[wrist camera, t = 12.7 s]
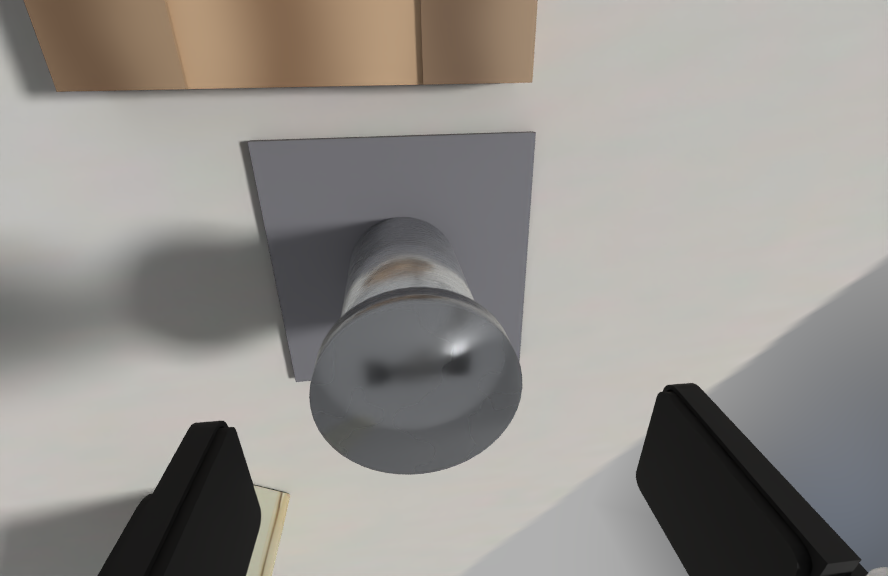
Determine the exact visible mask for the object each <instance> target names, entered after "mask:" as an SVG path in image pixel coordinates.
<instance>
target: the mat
mask: <svg viewBox="0 0 888 576" xmlns="http://www.w3.org/2000/svg"><path fill="white" fill-rule="evenodd" d="M535 135H536V133H535V132H503V133H472V134H440V135H409V136H377V137H346V138H315V139H283V140H252V141H248V147H249V152H250V157H251V162H252V167H253V172H254V176H255V181H256V186H257V191H258V196H259V201H260V206H261V211H262V216H263V221H264V226H265V231H266V236H267V241H268V246H269V251H270V256H271V261H272V266H273V271H274V276H275V281H276V286H277V291H278V296H279V301H280V306H281V311H282V316H283V321H284V325H285V330H286V335H287V340H288V345H289V350H290V355H291V360H292V365H293V370H294V375H295V380H296V382H301V381H311V380H312V375H313V371H314V367H315V362H316V358H317V354H318V351H319V348H320V346H321V344H322V341H323V340H324V338H325V336H326V335H327V333H328V331H329V330H330V329H331V328H332V326H333V325H334V324H335V323H336V322H337V320H339V319H340V318H341V314H342V308H343V302H344V296H345V290H346V284H347V278H348V272H349V266H350V260H351V256H352V252H353V249H354V247H355V245H356V243H357V241H358V240H359V238H360V237H361V236H362V235H363V234H364V233H365V232H366V231H367V230H368V229H369V228H371V227H372V226H373V225H375V224H377V223H379V222H381V221H384V220H386V219H390V218H395V217H412V218H417V219H421V220H424V221H426V222H428V223H430V224H432V225H433V226H435V227H436V228H438V229H439V230H440V231H441V232H442V233H443V234H444V235H445V236H446V238H447V239H448V241H449V242H450V244H451V246H452V249H453V251H454V253H455V256H456V258H457V260H458V263H459V265H460V268H461V270H462V272H463V275H464V277H465V280H466V282H467V284H468V287H469V289H470V291H471V294H472V296H473V299H474V301H476V302H477V303H479V304H480V305H482V306H483V307H484V308H486V309H487V310H488V311H489V312H490V313H491V314H492V315H493V316H494V317H495V318H496V319H497V320H498V322H499V323H500V324H501V326H502V327H503V329H504V331H505V333H506V335H507V336H508V339H509V341H510V343H511V345H512V347H513V349H514V351H515V353H516V355H517V358H518V361H519V360H520V346H521V332H522V317H523V303H524V289H525V275H526V261H527V247H528V233H529V219H530V205H531V191H532V177H533V163H534V149H535Z"/></svg>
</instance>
